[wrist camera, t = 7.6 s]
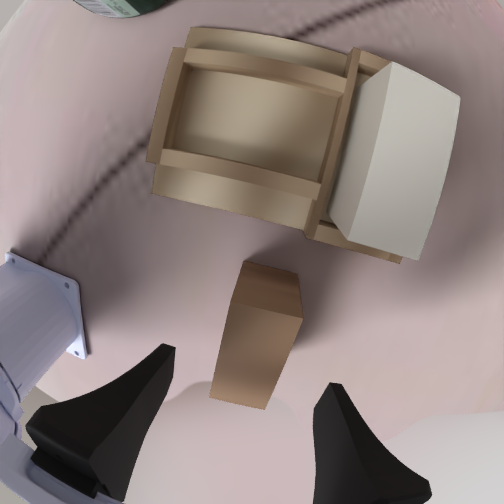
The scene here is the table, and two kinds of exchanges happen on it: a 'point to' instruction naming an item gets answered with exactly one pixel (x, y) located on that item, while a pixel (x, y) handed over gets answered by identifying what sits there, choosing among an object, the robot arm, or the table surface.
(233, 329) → the tall wooden block
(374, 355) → the table surface
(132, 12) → the coffee jar
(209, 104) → the jig
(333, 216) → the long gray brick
